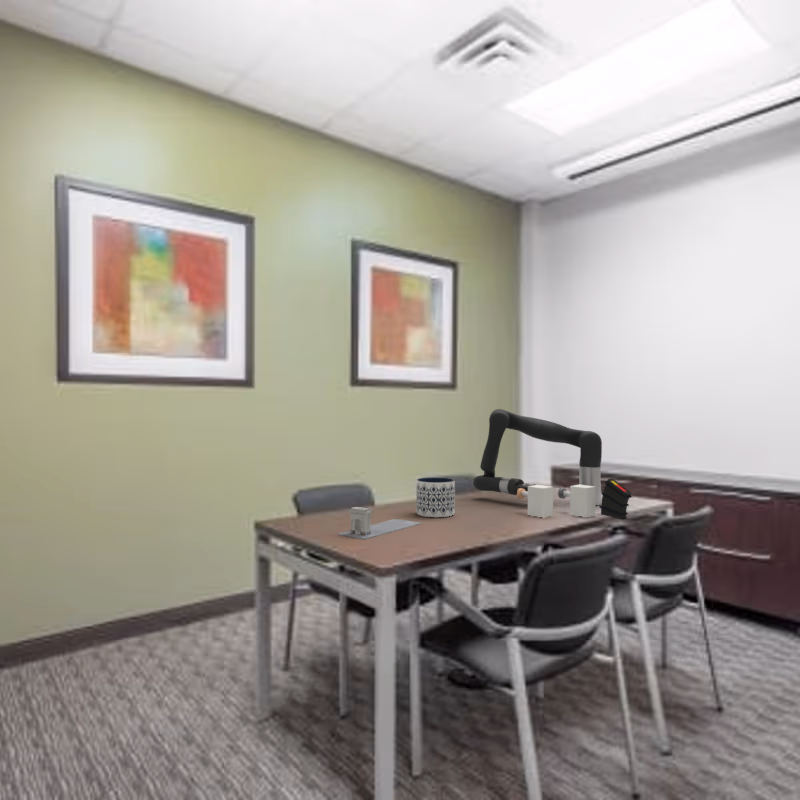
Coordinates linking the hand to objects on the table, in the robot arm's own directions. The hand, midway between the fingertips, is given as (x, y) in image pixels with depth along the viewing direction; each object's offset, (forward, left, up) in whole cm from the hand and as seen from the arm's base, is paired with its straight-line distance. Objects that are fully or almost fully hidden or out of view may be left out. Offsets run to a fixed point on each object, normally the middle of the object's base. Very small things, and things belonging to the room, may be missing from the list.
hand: (543, 490), depth 260 cm
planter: (+44, -23, -8) cm, 50 cm away
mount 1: (+14, +8, -8) cm, 18 cm away
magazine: (-8, +29, -8) cm, 31 cm away
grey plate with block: (+79, -17, -9) cm, 81 cm away
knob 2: (0, +13, -2) cm, 13 cm away
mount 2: (0, +19, -8) cm, 20 cm away
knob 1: (+14, +2, -2) cm, 14 cm away
